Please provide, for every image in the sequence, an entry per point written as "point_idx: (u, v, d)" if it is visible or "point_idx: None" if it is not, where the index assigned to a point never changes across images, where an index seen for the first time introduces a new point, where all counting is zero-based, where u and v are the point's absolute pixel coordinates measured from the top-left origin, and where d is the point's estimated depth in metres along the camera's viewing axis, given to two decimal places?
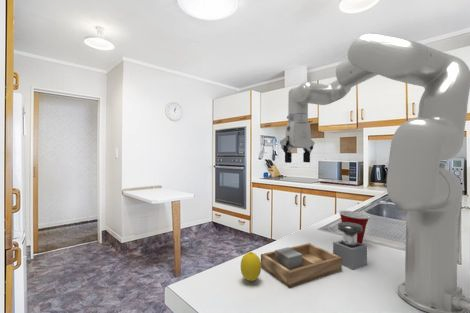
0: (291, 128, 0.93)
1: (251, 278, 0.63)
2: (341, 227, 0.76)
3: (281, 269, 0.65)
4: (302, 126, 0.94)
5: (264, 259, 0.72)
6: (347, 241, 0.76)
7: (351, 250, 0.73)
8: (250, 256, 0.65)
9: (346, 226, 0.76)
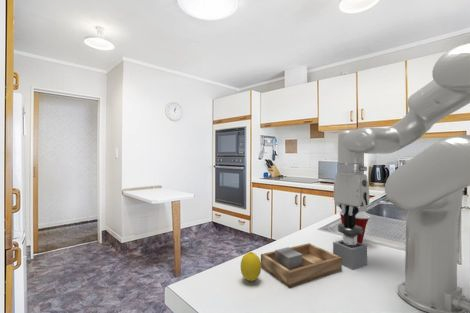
0: (367, 183, 0.74)
1: (251, 278, 0.63)
2: (341, 229, 0.76)
3: (281, 269, 0.65)
4: None
5: (264, 259, 0.72)
6: (347, 243, 0.76)
7: (351, 250, 0.73)
8: (250, 256, 0.65)
9: (346, 228, 0.76)
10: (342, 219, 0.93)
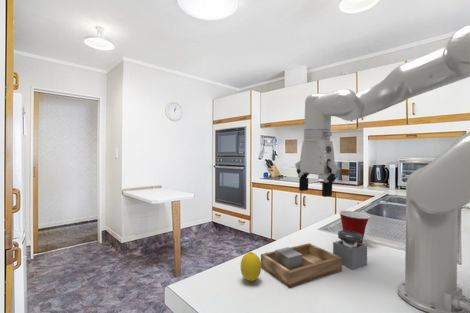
0: (332, 150, 0.69)
1: (251, 278, 0.63)
2: (341, 236, 0.76)
3: (281, 269, 0.65)
4: None
5: (264, 259, 0.72)
6: None
7: (351, 250, 0.73)
8: (250, 256, 0.65)
9: (346, 235, 0.76)
10: (342, 219, 0.93)
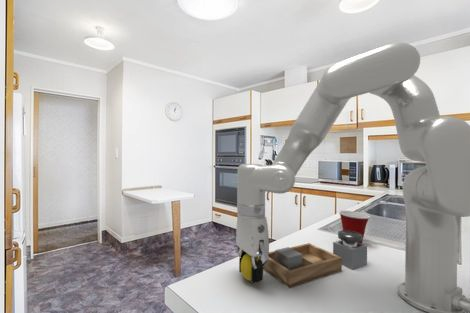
0: (266, 228, 0.62)
1: None
2: (341, 236, 0.76)
3: (281, 269, 0.65)
4: None
5: None
6: None
7: (351, 250, 0.73)
8: (250, 255, 0.65)
9: (346, 235, 0.76)
10: (342, 219, 0.93)
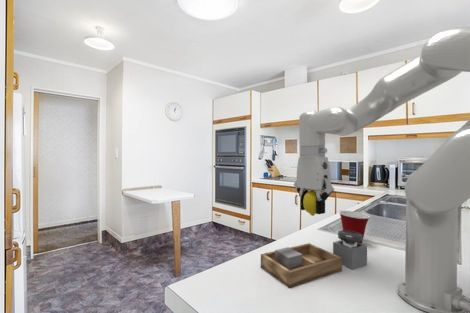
0: (328, 165, 0.71)
1: (315, 211, 0.72)
2: (341, 236, 0.76)
3: (281, 269, 0.65)
4: None
5: (264, 259, 0.72)
6: None
7: (351, 250, 0.73)
8: (312, 192, 0.73)
9: (346, 235, 0.76)
10: (342, 219, 0.93)
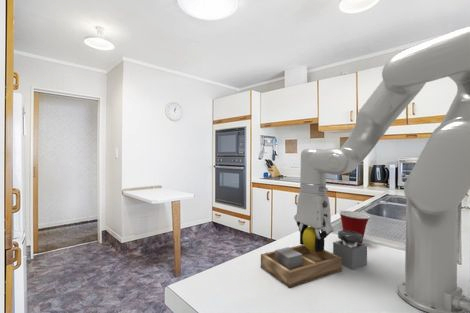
0: (328, 204, 0.72)
1: (314, 248, 0.73)
2: (341, 236, 0.76)
3: (281, 269, 0.65)
4: None
5: (264, 259, 0.72)
6: None
7: (351, 250, 0.73)
8: (312, 228, 0.74)
9: (346, 235, 0.76)
10: (342, 219, 0.93)
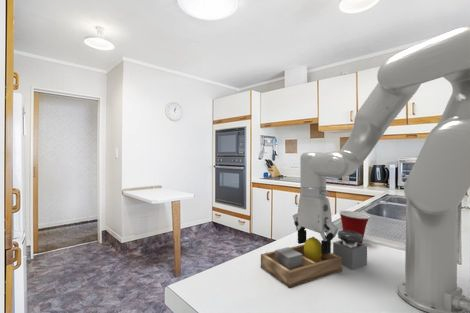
0: (329, 207, 0.71)
1: (315, 259, 0.73)
2: (341, 236, 0.76)
3: (281, 269, 0.65)
4: None
5: (264, 259, 0.72)
6: None
7: (351, 250, 0.73)
8: (313, 240, 0.74)
9: (346, 235, 0.76)
10: (342, 219, 0.93)
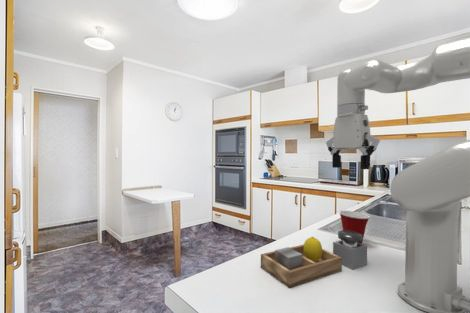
0: (368, 123, 0.70)
1: (315, 259, 0.73)
2: (341, 236, 0.76)
3: (281, 269, 0.65)
4: None
5: (264, 259, 0.72)
6: None
7: (351, 250, 0.73)
8: (312, 240, 0.74)
9: (346, 235, 0.76)
10: (342, 219, 0.93)
